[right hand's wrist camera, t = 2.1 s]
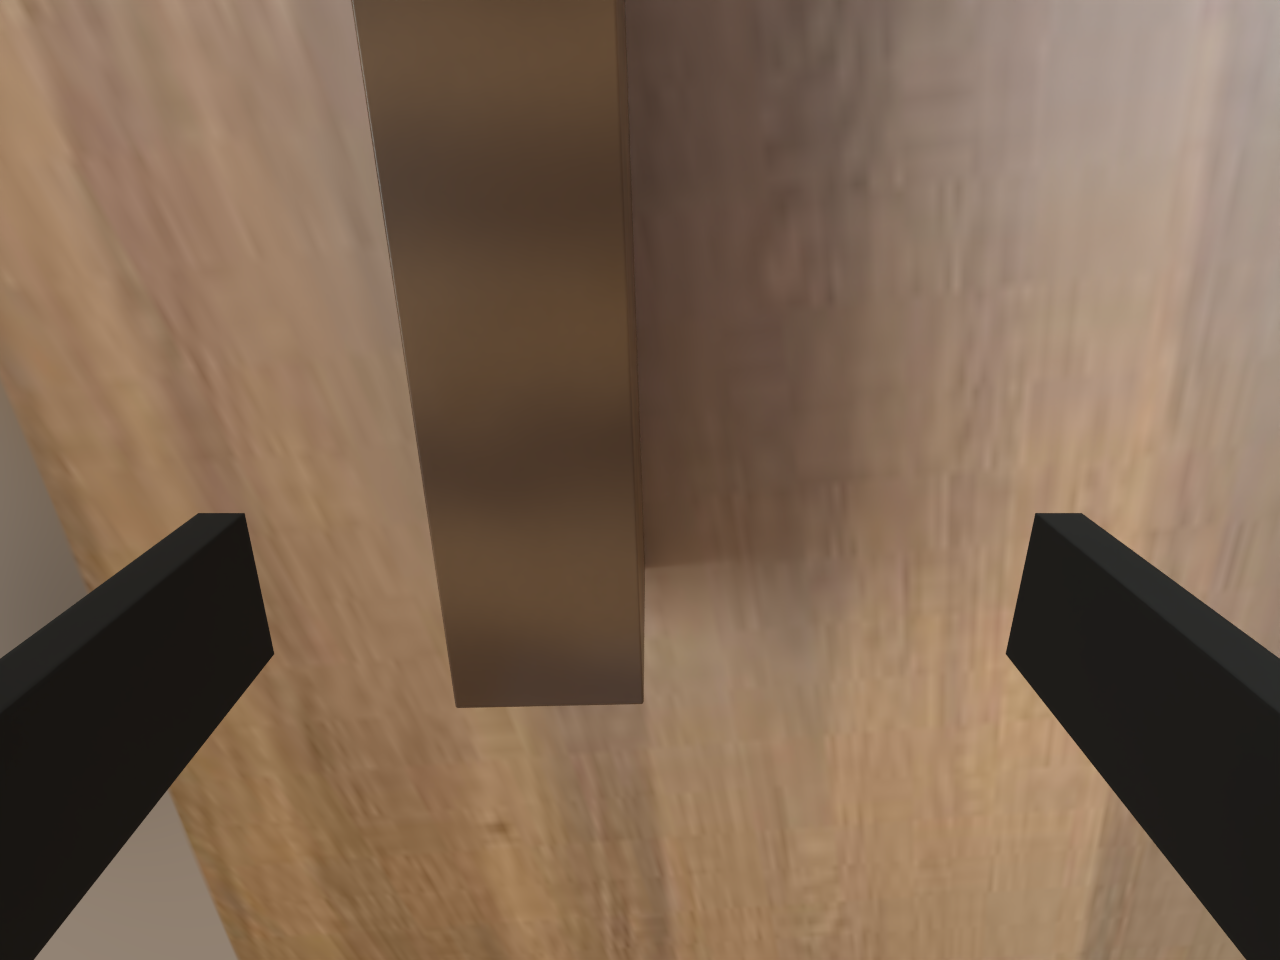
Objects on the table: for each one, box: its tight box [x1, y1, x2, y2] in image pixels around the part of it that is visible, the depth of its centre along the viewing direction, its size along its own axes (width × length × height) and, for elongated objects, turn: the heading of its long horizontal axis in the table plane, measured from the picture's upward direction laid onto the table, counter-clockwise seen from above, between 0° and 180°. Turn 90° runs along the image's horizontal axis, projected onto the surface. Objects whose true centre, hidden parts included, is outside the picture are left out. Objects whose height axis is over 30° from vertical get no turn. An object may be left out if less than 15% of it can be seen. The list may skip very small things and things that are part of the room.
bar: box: [351, 0, 645, 708], centre depth 21 cm, size 27×6×9 cm, turn 2°
